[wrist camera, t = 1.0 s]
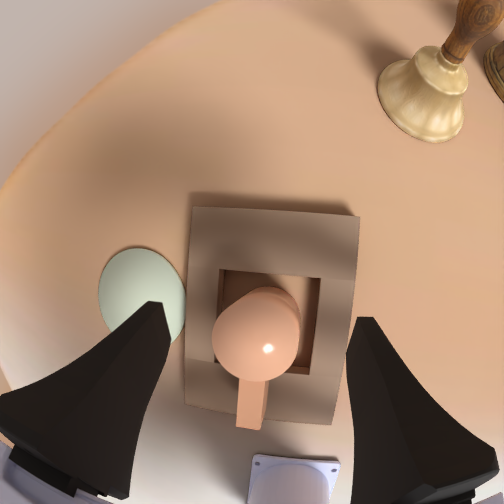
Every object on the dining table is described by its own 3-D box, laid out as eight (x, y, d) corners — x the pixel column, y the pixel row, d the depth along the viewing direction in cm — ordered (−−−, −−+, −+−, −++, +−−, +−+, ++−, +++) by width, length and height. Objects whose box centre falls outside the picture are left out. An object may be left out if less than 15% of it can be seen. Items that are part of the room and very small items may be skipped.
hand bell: (364, 62, 21) (394, -85, 5) (442, 61, 19) (508, -51, 4) (394, 147, 21) (493, 19, 5) (474, 140, 19) (590, 57, 3)
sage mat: (185, 360, 24) (184, 361, 24) (101, 339, 25) (99, 339, 25) (190, 252, 24) (188, 252, 23) (101, 244, 25) (99, 244, 25)
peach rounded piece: (237, 283, 23) (214, 295, 17) (304, 289, 22) (302, 304, 16) (230, 389, 23) (208, 426, 17) (291, 397, 22) (284, 438, 16)
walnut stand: (330, 415, 22) (331, 425, 20) (190, 396, 24) (184, 404, 22) (356, 218, 21) (360, 216, 20) (199, 208, 23) (192, 206, 22)
